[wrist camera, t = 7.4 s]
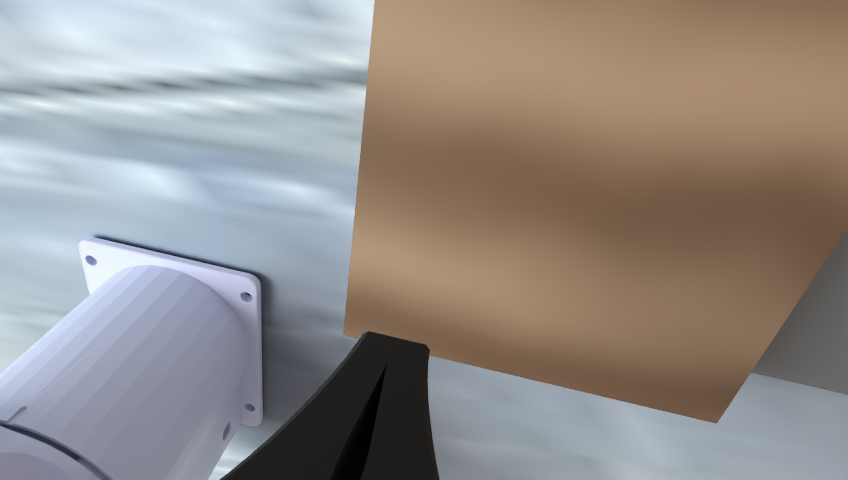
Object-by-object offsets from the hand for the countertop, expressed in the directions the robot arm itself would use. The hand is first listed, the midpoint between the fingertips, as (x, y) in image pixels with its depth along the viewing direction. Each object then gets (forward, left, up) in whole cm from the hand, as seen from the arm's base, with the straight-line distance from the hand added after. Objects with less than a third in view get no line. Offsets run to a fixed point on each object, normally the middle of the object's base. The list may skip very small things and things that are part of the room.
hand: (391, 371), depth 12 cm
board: (+2, -4, -9) cm, 10 cm away
